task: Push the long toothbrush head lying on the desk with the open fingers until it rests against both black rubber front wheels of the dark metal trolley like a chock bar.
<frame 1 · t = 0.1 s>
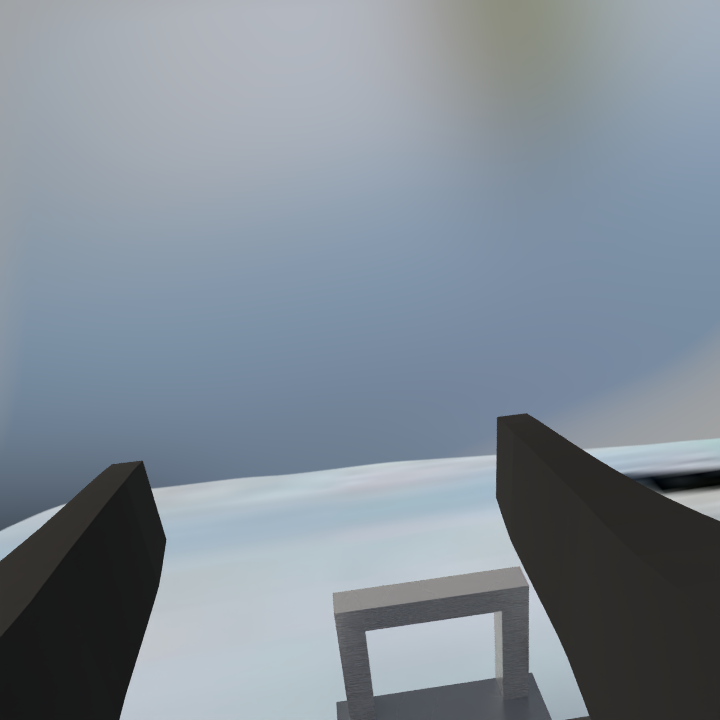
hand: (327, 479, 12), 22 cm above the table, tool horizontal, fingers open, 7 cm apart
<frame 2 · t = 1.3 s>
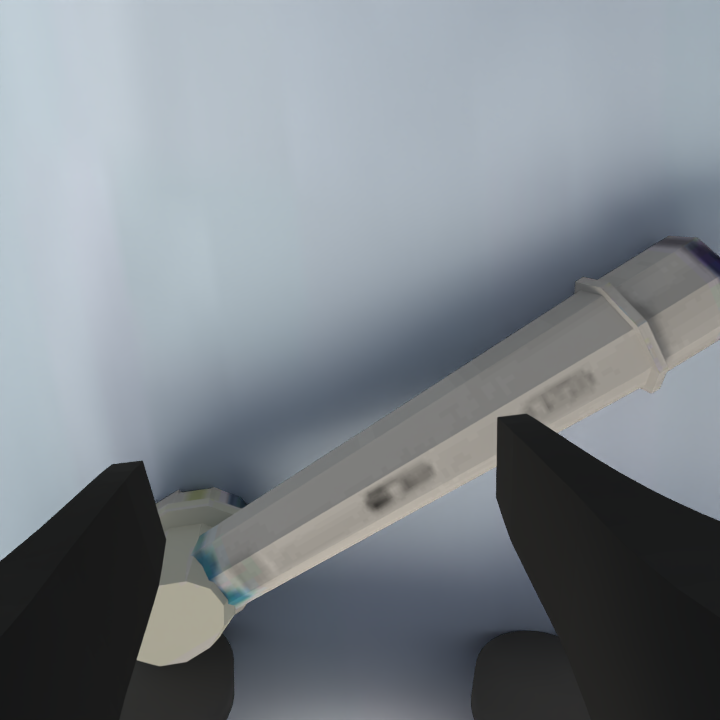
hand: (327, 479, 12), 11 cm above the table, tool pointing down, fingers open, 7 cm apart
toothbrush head: (392, 425, 25), on the table
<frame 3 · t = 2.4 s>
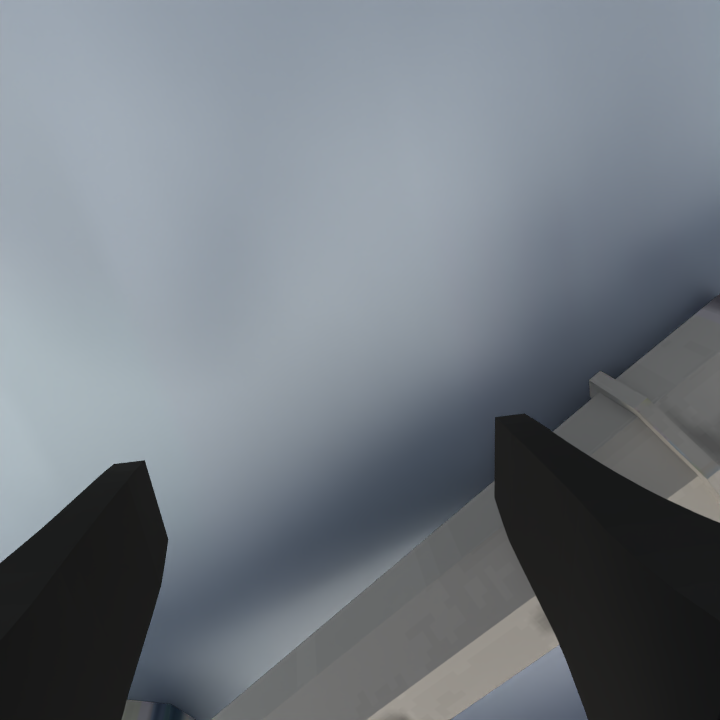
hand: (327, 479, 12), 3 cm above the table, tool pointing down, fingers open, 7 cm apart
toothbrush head: (357, 583, 18), on the table, touching gripper
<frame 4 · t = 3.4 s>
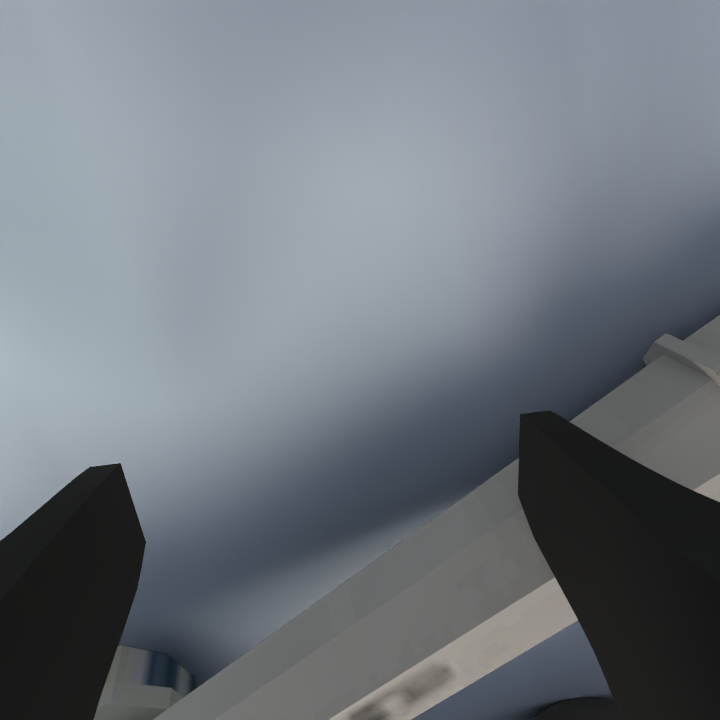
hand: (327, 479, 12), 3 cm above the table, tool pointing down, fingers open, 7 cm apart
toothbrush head: (376, 536, 17), on the table, touching gripper
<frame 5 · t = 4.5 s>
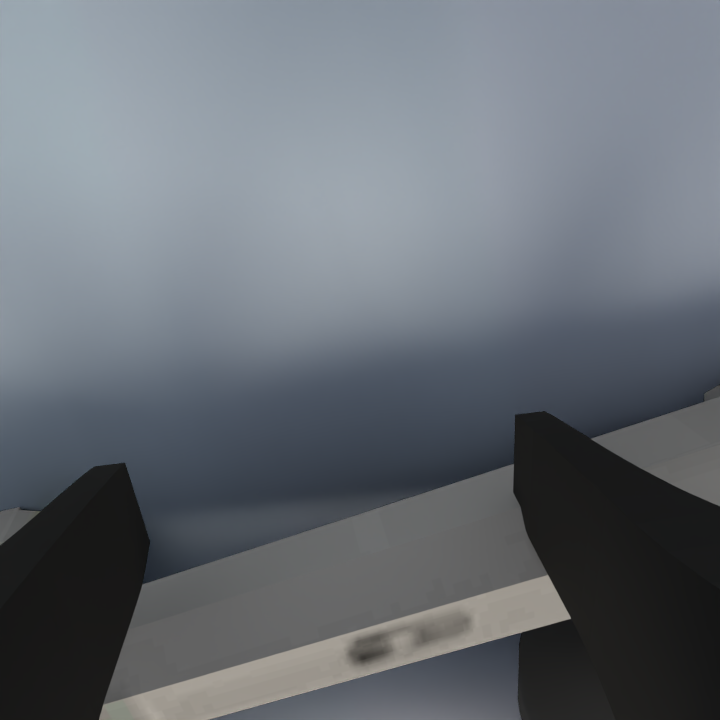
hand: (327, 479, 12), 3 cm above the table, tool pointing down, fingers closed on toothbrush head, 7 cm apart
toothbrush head: (383, 486, 17), on the table, touching gripper
when the fingers open (3 cm above the table, at t = 5.3 s): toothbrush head stays where it is, on the table.
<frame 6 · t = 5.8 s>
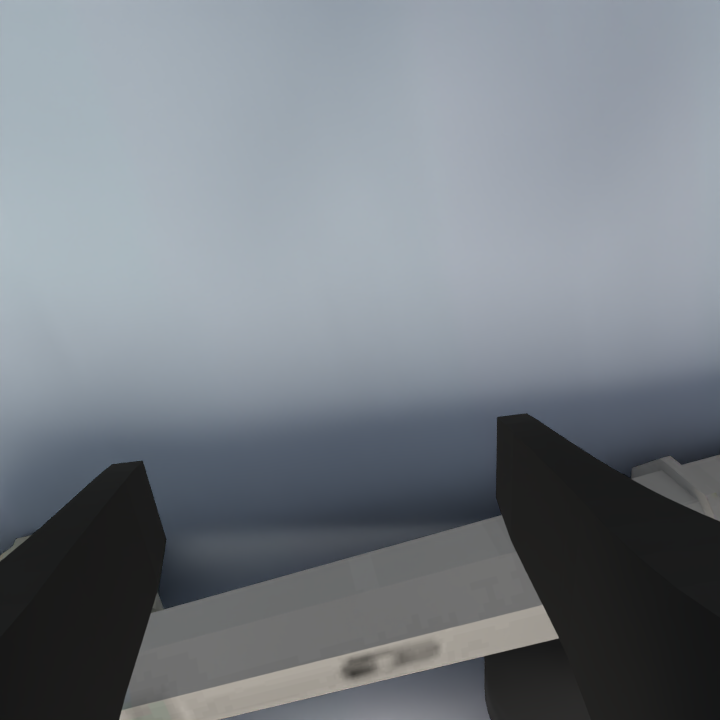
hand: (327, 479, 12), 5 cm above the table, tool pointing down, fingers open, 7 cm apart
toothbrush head: (371, 524, 20), on the table
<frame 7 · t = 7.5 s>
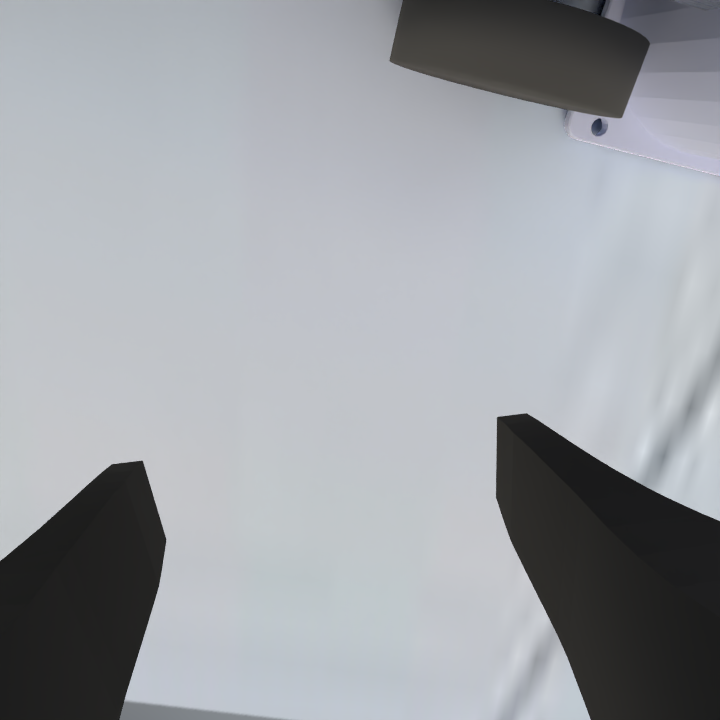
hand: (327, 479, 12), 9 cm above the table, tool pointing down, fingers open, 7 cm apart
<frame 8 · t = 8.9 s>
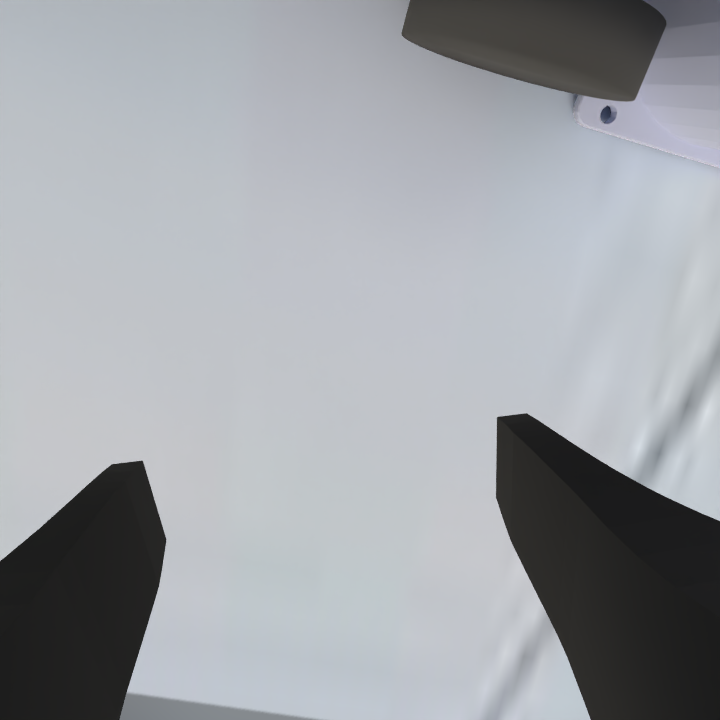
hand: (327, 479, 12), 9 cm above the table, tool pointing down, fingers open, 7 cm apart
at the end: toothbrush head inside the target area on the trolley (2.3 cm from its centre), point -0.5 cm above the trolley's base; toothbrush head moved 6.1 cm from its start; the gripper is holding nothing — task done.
